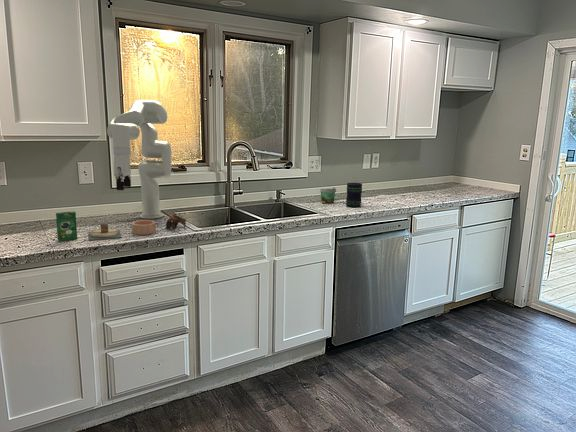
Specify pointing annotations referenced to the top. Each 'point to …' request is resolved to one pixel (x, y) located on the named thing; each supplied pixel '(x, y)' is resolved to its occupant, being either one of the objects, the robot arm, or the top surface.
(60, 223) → the coffee box
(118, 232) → the mat
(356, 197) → the storage jar
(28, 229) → the top surface
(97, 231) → the lid
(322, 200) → the food container
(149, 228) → the bowl
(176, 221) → the pottery mug
